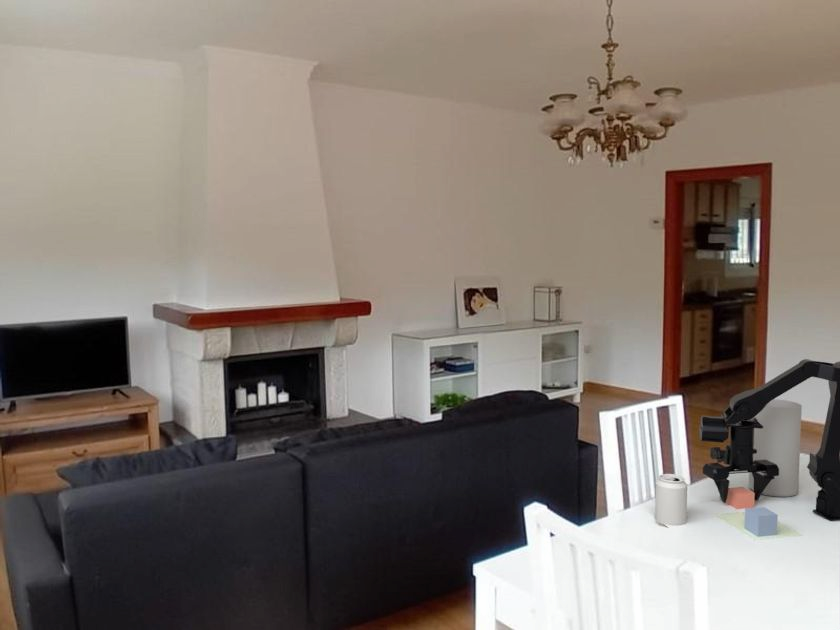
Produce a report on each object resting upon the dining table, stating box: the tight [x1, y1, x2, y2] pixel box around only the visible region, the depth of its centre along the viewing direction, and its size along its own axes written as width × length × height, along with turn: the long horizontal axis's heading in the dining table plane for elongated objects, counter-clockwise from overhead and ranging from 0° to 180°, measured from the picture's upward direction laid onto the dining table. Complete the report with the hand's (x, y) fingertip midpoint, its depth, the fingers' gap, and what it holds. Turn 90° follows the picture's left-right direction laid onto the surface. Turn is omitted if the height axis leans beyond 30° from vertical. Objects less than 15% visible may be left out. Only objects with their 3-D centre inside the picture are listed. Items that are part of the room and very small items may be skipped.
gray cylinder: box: [748, 398, 803, 498], centre depth 197 cm, size 12×12×25 cm
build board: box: [714, 511, 805, 541], centre depth 171 cm, size 13×16×1 cm
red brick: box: [725, 486, 755, 510], centre depth 184 cm, size 5×5×5 cm
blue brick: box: [744, 506, 779, 537], centre depth 166 cm, size 5×5×5 cm
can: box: [654, 473, 688, 529], centre depth 174 cm, size 8×8×12 cm
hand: (739, 501), depth 184 cm, fingers open, 9 cm apart
